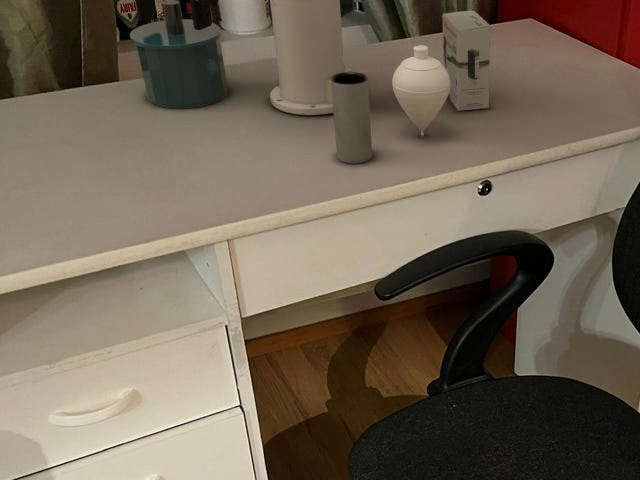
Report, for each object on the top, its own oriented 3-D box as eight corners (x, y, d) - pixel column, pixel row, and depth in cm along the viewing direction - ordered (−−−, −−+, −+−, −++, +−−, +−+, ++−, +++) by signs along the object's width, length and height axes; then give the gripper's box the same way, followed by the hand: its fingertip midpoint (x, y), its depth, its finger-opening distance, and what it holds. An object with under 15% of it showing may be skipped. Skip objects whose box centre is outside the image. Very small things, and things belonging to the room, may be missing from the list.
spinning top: (427, 120, 122) (425, 34, 115) (461, 137, 118) (462, 48, 111) (383, 133, 118) (379, 44, 111) (417, 152, 114) (415, 60, 106)
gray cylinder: (376, 151, 113) (372, 73, 107) (366, 165, 110) (361, 85, 104) (343, 147, 114) (337, 70, 108) (332, 161, 111) (325, 82, 104)
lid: (239, 34, 126) (234, -3, 123) (185, 59, 117) (178, 19, 114) (169, 23, 130) (162, -14, 127) (112, 46, 121) (103, 7, 117)
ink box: (441, 91, 132) (441, 11, 125) (472, 89, 133) (474, 9, 126) (457, 111, 125) (458, 28, 118) (489, 109, 127) (492, 26, 119)
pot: (242, 88, 131) (234, 30, 126) (196, 113, 122) (185, 53, 117) (180, 77, 134) (170, 20, 129) (131, 100, 126) (117, 41, 120)
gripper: (223, -113, 112) (242, 24, 122) (116, -124, 117) (143, 9, 127) (187, -104, 106) (210, 39, 117) (76, -116, 111) (108, 22, 122)
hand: (175, 23), depth 122 cm, fingers open, 9 cm apart
